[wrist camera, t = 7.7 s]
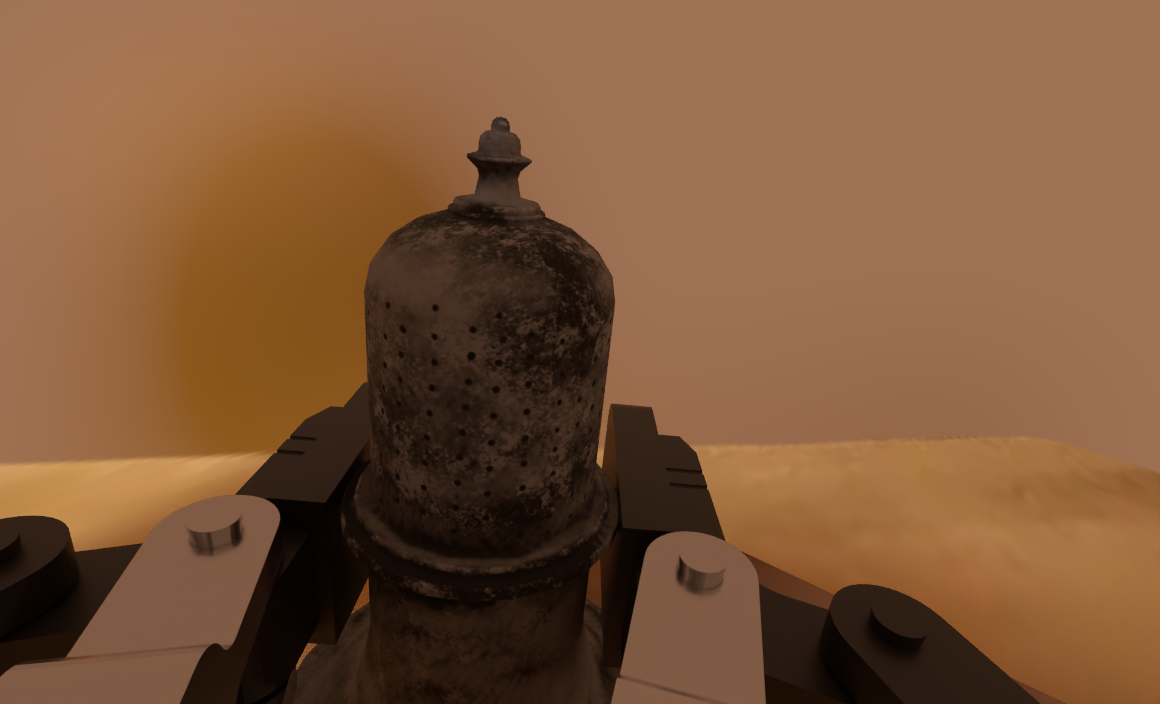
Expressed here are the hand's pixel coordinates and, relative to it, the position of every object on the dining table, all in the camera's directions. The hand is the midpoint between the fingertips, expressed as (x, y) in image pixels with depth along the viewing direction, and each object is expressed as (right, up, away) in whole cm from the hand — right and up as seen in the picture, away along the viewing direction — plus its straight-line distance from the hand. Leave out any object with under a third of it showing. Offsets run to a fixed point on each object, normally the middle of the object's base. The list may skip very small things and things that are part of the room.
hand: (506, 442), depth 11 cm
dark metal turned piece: (-1, -7, 0) cm, 7 cm away
